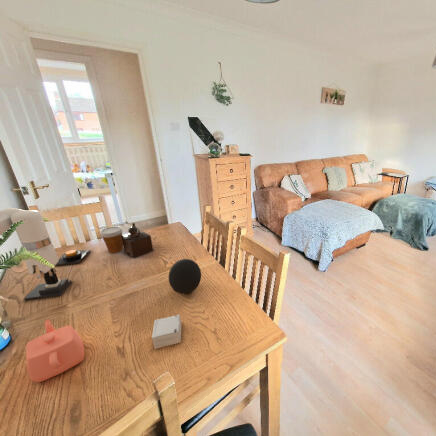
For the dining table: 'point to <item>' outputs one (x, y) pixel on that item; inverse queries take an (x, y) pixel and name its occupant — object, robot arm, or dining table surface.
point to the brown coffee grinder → (136, 242)
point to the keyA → (53, 285)
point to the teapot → (53, 352)
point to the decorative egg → (184, 276)
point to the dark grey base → (48, 290)
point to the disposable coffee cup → (112, 239)
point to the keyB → (71, 253)
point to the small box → (166, 331)
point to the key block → (72, 258)
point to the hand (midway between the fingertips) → (52, 282)
